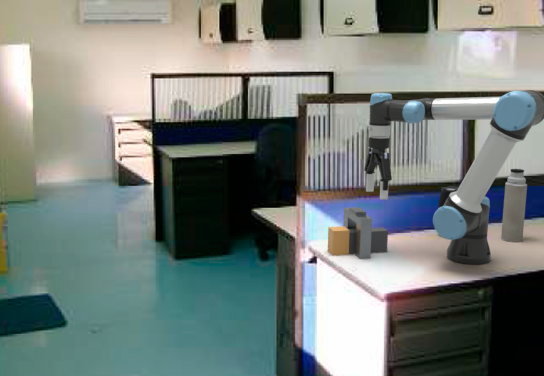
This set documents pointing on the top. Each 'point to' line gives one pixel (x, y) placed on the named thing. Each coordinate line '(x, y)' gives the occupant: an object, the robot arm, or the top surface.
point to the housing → (359, 230)
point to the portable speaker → (446, 194)
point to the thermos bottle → (514, 207)
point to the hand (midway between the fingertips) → (376, 195)
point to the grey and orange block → (354, 240)
